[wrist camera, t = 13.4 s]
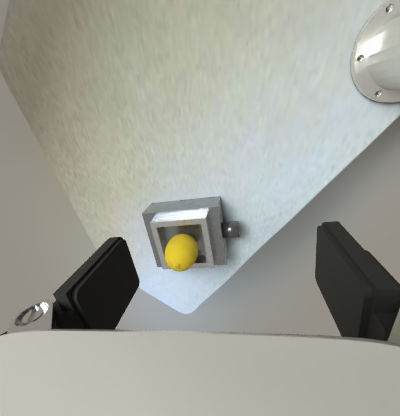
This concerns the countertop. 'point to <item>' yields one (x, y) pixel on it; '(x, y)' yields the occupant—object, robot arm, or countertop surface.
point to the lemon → (181, 252)
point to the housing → (190, 229)
